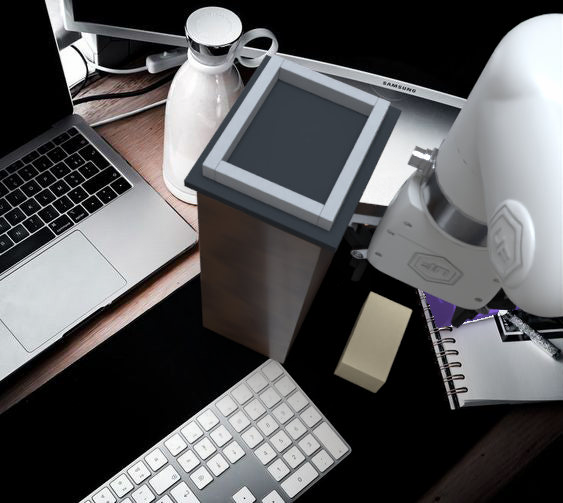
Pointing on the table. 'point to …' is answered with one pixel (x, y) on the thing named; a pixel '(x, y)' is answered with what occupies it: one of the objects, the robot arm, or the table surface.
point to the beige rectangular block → (373, 342)
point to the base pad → (296, 151)
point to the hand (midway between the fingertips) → (408, 290)
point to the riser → (255, 278)
